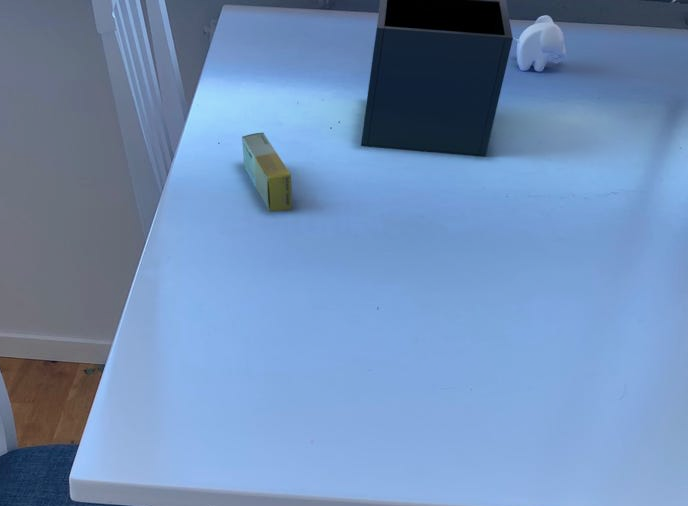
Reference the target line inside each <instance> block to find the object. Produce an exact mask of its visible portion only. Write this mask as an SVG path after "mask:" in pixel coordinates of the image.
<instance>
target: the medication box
mask: <svg viewBox="0 0 688 506" xmlns="http://www.w3.org/2000/svg"><path fill="white" fill-rule="evenodd" d="M241 139H242V140H241V141H242V152H243V153H242V155H243V166H244V168H245V170H246V172H247V175H248V176H249V178H250V180H251V181H252V183H253V185H254V187H255V189H256V190H257V192H258V194H259V196H260V198H261V200H262V201H263V203H264V204H265V207H266V208H267V210H268V212H282V211H283V212H285V211H293V197H292V195H293V194H292V174H291V172H290V171H289V170H288V168H287V166H286V164H285V163H284V162H283V160H282V159H281V157H280V155H279V154H278V153H277V151H276V150H275V148H274V146H273V145H272V144H271V141H270V140H269V139H268V137H267V136H266V134H265V133H264V132H254V133H250V134H247V135H242V137H241Z"/></svg>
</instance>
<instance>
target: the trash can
mask: <svg viewBox="0 0 688 506" xmlns="http://www.w3.org/2000/svg"><path fill="white" fill-rule="evenodd" d="M513 37H514V36H513V32H512V25H511V21H510V15H509V11H508V6H507V0H379V7H378V15H377V21H376V29H375V37H374V42H373V43H374V44H373V52H372V59H371V66H370V73H369V81H368V88H367V96H366V103H365V111H364V117H363V125H362V133H361V139H360V140H361V141H360V147H366V148H376V149H377V148H378V149H387V150H400V151H411V152H423V153H434V154H446V155H458V156H468V157H478V158H479V157H481V158H486V155H487V151H488V148H489V143H490V139H491V136H492V135H491V134H492V130H493V126H494V122H495V119H496V113H497V109H498V105H499V101H500V97H501V91H502V87H503V82H504V78H505V75H506V70H507V66H508V62H509V57H510V53H511V48H512V44H513V40H514V39H513Z"/></svg>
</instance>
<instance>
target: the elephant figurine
mask: <svg viewBox="0 0 688 506" xmlns="http://www.w3.org/2000/svg"><path fill="white" fill-rule="evenodd" d="M513 40H514V41H516V42H517V44H516V45H517V46H516V63H517V65H518V67H519V69H520V71H523V72H526V71H529V70H530V68H531V66H532V67H533V70H534V71H535V72H538V73H540V72H543V70H544V69H545V67H546V64H547V62H548V61H549V59H550V58H551V57H552V56H557V57H552V58H551V62H552V63H553V64H555V65H556V64H559V63H560V62H561V61H563V60H564V57H565V58H567V57H568V56H567V55H566V53H567V49H566V46H565V37H564V33H563V31H562V29H561V27H559V25H557V24H556V23H554V20H553V19H552V17H551V16H550V15H541V16H539V17H538V18H537V19H536V20H535V22H534V24H531V25H530V26H528V27H527V28H525V29H524V30H523V31H522V33H521V34H520V36H519V38H515V37H514V36H513Z"/></svg>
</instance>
